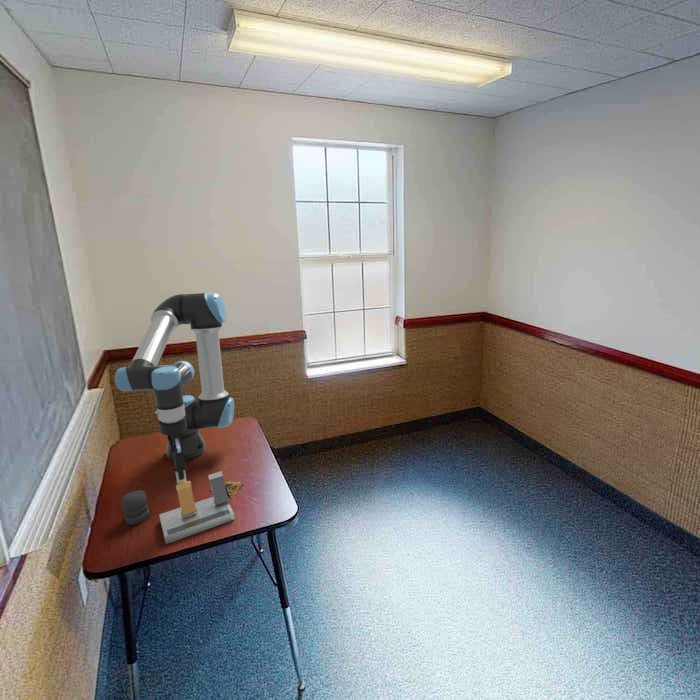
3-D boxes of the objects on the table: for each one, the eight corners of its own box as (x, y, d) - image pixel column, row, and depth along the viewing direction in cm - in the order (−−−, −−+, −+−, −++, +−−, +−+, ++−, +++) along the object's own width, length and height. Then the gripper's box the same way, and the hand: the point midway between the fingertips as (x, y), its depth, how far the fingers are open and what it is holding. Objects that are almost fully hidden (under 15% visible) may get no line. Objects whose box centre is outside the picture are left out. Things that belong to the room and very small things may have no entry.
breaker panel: (160, 521, 131) (159, 513, 130) (224, 499, 140) (223, 492, 140) (165, 544, 121) (164, 536, 120) (234, 519, 130) (233, 511, 130)
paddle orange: (181, 516, 129) (175, 485, 129) (196, 511, 131) (190, 480, 132) (182, 517, 127) (175, 485, 128) (197, 512, 129) (190, 481, 130)
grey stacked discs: (124, 515, 134) (120, 495, 132) (148, 508, 137) (144, 487, 135) (126, 528, 128) (121, 506, 126) (150, 519, 132) (146, 499, 130)
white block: (214, 505, 134) (207, 475, 136) (228, 501, 136) (221, 471, 138) (215, 505, 132) (208, 475, 134) (229, 500, 134) (222, 470, 136)
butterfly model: (234, 500, 141) (233, 492, 140) (207, 491, 146) (205, 484, 145) (251, 486, 148) (250, 479, 147) (224, 479, 154) (223, 471, 153)
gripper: (156, 413, 128) (166, 480, 135) (161, 429, 118) (172, 501, 124) (181, 408, 132) (191, 473, 138) (189, 423, 121) (198, 493, 128)
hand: (182, 486), depth 131 cm, fingers closed
